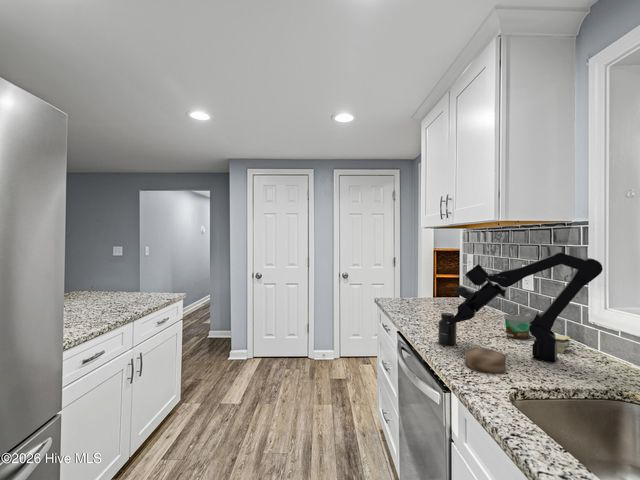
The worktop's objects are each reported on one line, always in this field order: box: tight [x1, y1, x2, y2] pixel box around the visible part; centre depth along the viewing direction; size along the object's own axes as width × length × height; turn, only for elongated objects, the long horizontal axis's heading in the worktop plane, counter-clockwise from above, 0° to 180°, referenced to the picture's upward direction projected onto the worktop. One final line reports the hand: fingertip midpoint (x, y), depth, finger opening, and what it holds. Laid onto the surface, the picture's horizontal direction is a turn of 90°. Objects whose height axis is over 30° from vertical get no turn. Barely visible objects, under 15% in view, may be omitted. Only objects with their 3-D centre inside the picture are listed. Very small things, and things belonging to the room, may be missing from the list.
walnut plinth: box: [464, 347, 507, 374], centre depth 113 cm, size 12×12×4 cm
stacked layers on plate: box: [555, 334, 572, 354], centre depth 128 cm, size 10×9×6 cm
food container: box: [503, 312, 533, 340], centre depth 145 cm, size 12×6×10 cm, turn 105°
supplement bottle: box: [437, 312, 458, 347], centre depth 137 cm, size 7×7×12 cm
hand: (453, 320), depth 136 cm, fingers open, 9 cm apart
